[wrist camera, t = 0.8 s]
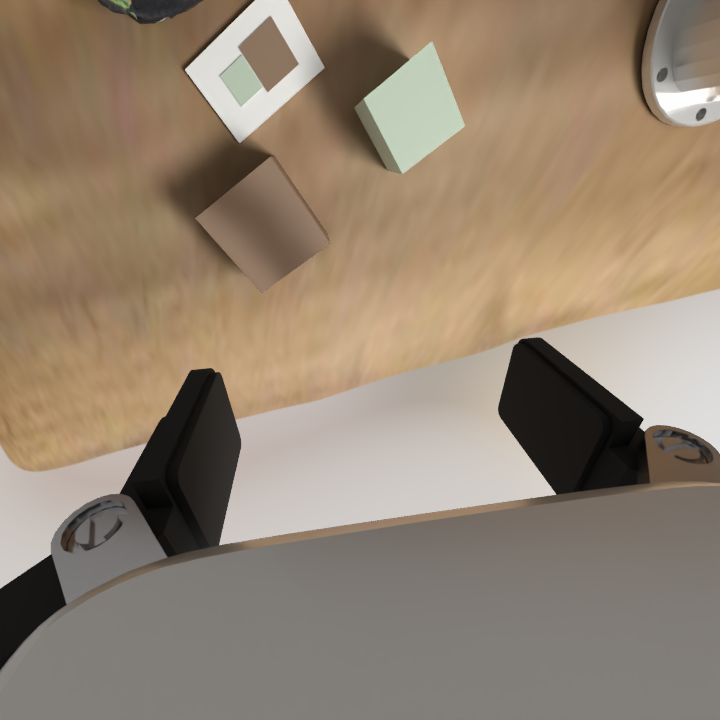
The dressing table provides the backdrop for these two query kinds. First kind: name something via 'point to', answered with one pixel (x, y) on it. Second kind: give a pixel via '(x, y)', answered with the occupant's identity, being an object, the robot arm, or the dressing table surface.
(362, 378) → the dressing table surface
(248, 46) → the tile
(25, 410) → the dressing table surface
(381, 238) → the dressing table surface
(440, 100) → the sage cube
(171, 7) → the figurine
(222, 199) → the walnut base
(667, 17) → the robot arm
